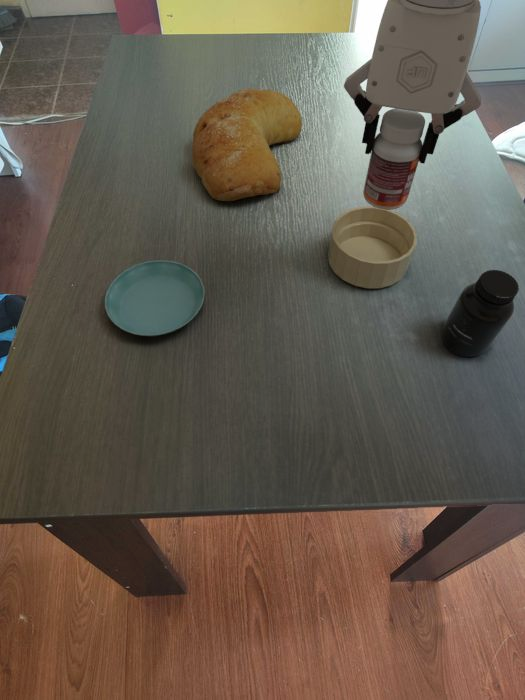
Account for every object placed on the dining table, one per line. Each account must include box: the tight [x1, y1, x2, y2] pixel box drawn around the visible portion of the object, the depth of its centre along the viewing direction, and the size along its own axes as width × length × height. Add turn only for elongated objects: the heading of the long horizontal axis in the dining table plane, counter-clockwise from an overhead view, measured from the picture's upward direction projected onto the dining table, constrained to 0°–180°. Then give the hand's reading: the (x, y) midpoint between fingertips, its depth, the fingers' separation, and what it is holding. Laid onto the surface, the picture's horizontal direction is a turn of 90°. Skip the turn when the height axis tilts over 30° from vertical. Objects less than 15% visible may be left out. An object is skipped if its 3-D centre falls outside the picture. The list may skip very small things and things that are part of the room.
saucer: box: [104, 259, 206, 337], centre depth 70 cm, size 15×15×3 cm
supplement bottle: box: [440, 269, 520, 358], centre depth 63 cm, size 7×7×12 cm
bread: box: [191, 88, 303, 202], centre depth 89 cm, size 32×20×10 cm, turn 165°
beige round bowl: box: [327, 205, 418, 289], centre depth 74 cm, size 13×13×6 cm
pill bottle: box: [362, 108, 426, 211], centre depth 61 cm, size 6×6×11 cm
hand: (396, 151), depth 60 cm, fingers closed on pill bottle, 6 cm apart
